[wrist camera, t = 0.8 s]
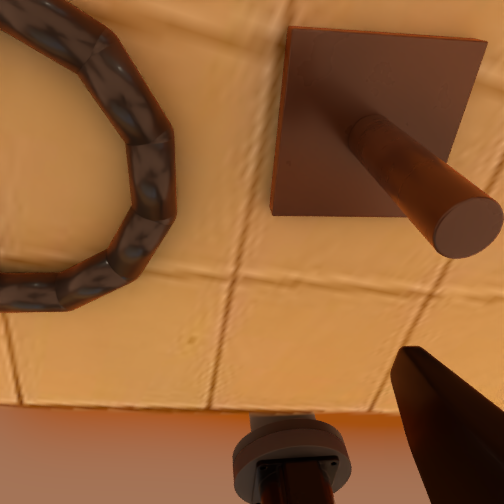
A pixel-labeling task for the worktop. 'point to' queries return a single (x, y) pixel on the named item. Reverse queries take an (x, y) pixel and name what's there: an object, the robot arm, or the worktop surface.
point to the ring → (137, 149)
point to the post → (380, 133)
